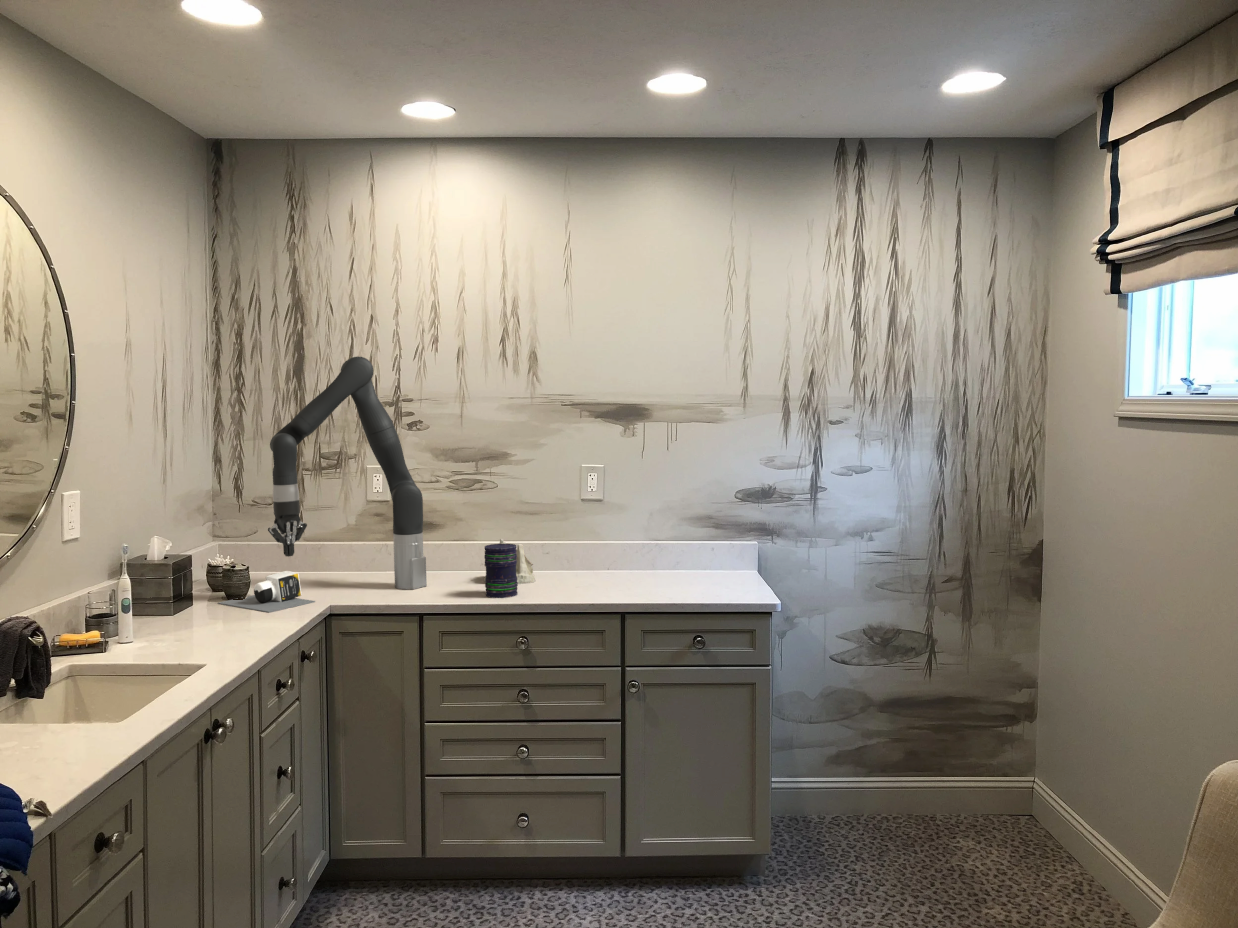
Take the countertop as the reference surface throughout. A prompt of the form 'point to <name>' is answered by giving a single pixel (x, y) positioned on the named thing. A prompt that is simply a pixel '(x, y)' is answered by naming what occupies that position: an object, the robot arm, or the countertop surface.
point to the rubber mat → (266, 604)
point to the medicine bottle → (278, 587)
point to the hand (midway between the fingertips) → (289, 555)
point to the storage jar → (501, 570)
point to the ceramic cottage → (522, 566)
